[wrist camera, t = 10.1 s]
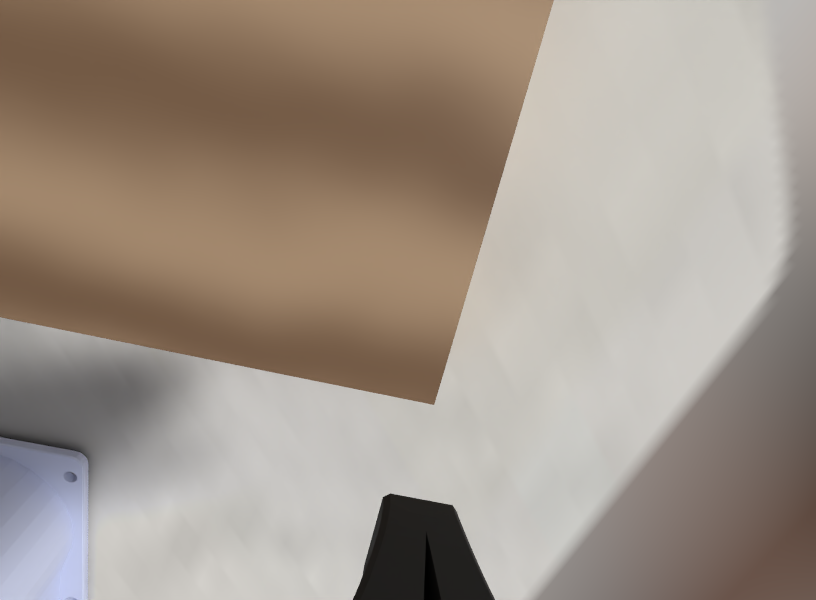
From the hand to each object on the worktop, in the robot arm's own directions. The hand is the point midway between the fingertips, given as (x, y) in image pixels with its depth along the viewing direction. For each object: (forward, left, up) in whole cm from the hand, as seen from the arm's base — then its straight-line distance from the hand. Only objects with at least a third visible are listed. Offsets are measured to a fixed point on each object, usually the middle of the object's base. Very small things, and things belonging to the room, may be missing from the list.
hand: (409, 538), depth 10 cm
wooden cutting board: (+6, +6, -9) cm, 13 cm away
